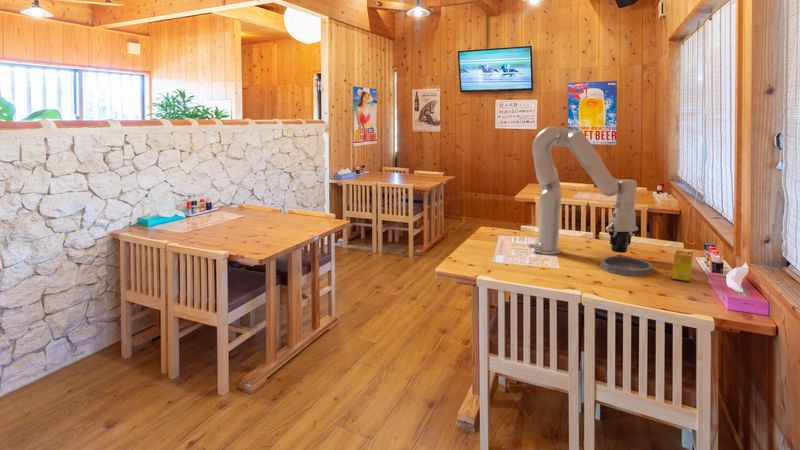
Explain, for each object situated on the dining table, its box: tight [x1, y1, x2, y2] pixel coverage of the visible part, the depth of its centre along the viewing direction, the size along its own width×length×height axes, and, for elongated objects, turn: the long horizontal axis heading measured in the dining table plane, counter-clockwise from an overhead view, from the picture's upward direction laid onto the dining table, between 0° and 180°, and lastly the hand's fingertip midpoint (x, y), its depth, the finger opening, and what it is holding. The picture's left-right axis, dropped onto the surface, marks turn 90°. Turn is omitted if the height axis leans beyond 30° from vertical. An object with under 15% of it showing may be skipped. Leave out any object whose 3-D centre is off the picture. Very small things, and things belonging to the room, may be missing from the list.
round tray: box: [599, 256, 654, 277], centre depth 197 cm, size 20×20×2 cm
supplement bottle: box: [610, 232, 629, 254], centre depth 213 cm, size 7×7×12 cm
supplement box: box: [671, 250, 694, 284], centre depth 182 cm, size 6×6×11 cm
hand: (619, 244), depth 214 cm, fingers closed on supplement bottle, 6 cm apart
